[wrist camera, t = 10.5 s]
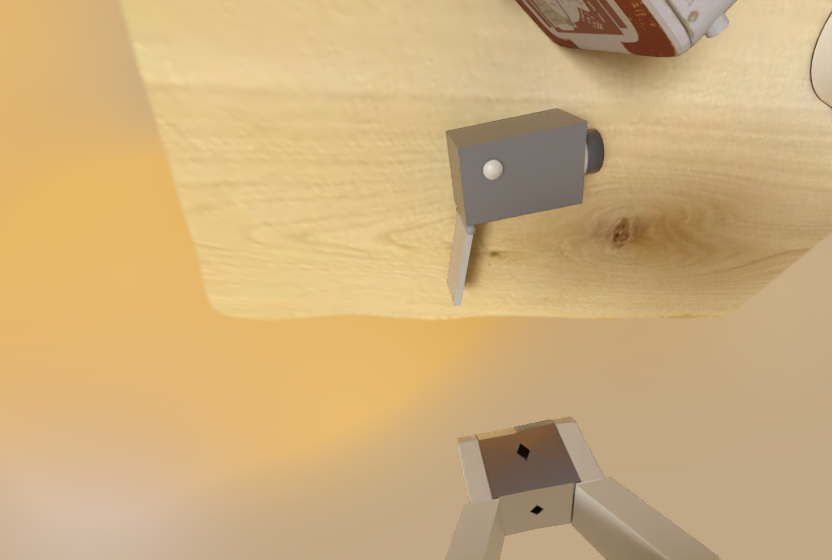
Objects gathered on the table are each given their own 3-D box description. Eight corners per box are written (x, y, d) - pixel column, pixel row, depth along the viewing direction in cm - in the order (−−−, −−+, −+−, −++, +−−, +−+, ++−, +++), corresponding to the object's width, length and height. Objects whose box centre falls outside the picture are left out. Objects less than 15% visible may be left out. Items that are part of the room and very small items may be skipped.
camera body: (579, 103, 42) (616, 117, 35) (575, 177, 46) (608, 201, 40) (445, 131, 42) (458, 149, 35) (454, 201, 46) (467, 229, 40)
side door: (453, 280, 51) (462, 307, 46) (445, 280, 51) (453, 307, 46) (465, 204, 46) (476, 226, 41) (456, 204, 46) (467, 226, 41)
